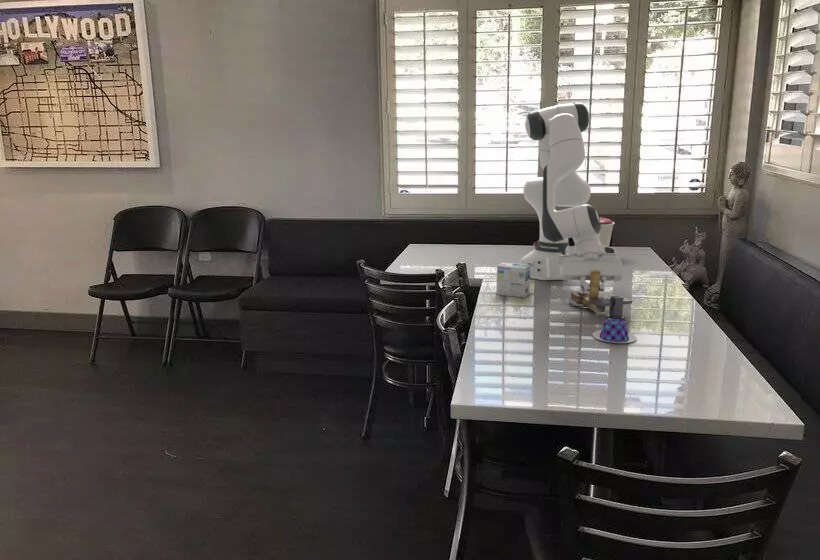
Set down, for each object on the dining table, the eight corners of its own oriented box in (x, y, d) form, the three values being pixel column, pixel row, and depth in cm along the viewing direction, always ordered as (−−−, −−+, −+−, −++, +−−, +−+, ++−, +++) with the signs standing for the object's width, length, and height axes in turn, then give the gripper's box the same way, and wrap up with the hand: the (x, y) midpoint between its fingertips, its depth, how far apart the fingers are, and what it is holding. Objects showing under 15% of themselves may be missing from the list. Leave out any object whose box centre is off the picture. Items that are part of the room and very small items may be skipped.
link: (570, 298, 224) (573, 263, 221) (587, 297, 225) (590, 263, 222) (591, 312, 207) (593, 275, 204) (609, 312, 207) (612, 275, 205)
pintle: (564, 305, 221) (565, 284, 219) (574, 299, 228) (575, 279, 226) (590, 309, 216) (592, 288, 214) (599, 303, 223) (601, 283, 221)
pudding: (583, 336, 190) (584, 318, 189) (613, 329, 196) (614, 313, 194) (615, 348, 180) (616, 329, 178) (645, 341, 186) (647, 323, 184)
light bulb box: (530, 293, 236) (531, 264, 233) (524, 298, 230) (526, 268, 227) (501, 290, 240) (502, 261, 238) (495, 294, 234) (496, 265, 232)
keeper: (588, 314, 210) (590, 293, 208) (617, 311, 214) (618, 290, 212) (604, 322, 202) (606, 300, 201) (633, 318, 206) (635, 296, 204)
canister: (579, 252, 312) (582, 207, 307) (617, 256, 302) (621, 211, 297) (564, 258, 298) (567, 212, 293) (603, 263, 288) (607, 215, 283)
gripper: (559, 248, 215) (564, 285, 208) (621, 249, 216) (628, 285, 208) (555, 259, 221) (560, 295, 214) (616, 260, 221) (623, 295, 214)
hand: (594, 290), depth 211 cm, fingers open, 3 cm apart
